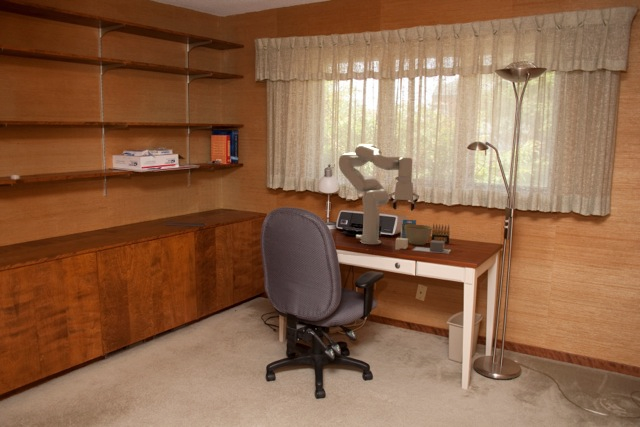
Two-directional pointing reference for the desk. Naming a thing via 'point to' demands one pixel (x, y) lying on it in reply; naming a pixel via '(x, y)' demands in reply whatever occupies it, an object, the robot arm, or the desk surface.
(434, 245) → the charcoal base block
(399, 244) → the cream block
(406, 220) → the label tape box
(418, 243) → the planter bowl
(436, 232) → the ammunition clip
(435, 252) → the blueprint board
